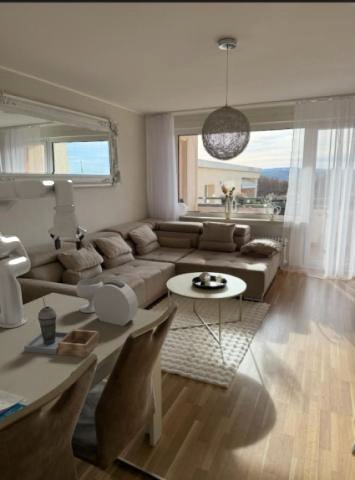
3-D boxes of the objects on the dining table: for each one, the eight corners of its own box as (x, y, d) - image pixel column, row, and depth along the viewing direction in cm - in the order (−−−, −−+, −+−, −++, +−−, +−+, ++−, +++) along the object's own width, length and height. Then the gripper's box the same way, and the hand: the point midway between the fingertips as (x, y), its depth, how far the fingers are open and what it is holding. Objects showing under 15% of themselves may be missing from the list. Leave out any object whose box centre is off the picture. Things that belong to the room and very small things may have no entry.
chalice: (72, 312, 172) (69, 284, 169) (88, 302, 185) (86, 276, 182) (95, 315, 168) (93, 287, 165) (109, 305, 181) (108, 279, 178)
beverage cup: (52, 347, 136) (48, 301, 132) (36, 345, 137) (32, 299, 133) (62, 339, 143) (58, 294, 139) (46, 337, 144) (43, 293, 140)
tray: (24, 351, 135) (24, 346, 134) (44, 335, 148) (43, 330, 148) (56, 354, 132) (55, 349, 132) (73, 337, 146) (73, 332, 145)
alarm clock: (138, 320, 161) (137, 281, 158) (130, 327, 155) (128, 286, 151) (103, 313, 170) (101, 276, 166) (93, 319, 164) (91, 280, 160)
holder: (58, 354, 132) (57, 343, 131) (73, 340, 143) (72, 329, 142) (87, 357, 130) (86, 345, 129) (99, 342, 141) (99, 331, 140)
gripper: (41, 210, 138) (45, 250, 141) (80, 210, 135) (83, 252, 138) (51, 208, 145) (54, 247, 148) (88, 209, 142) (91, 248, 145)
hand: (68, 249), depth 143 cm, fingers open, 9 cm apart
